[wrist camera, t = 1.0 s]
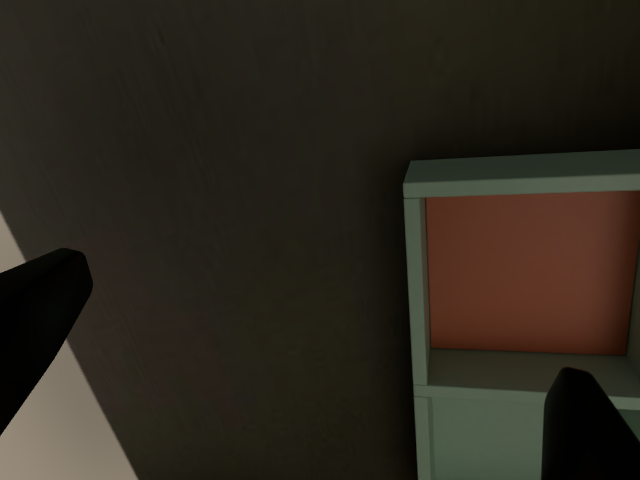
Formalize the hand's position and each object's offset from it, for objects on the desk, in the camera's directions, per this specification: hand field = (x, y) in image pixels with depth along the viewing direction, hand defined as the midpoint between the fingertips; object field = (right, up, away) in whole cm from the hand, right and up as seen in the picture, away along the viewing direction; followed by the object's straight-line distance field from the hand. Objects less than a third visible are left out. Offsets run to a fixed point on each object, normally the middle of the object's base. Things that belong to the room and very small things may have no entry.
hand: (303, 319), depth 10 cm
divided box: (+10, -4, +15) cm, 18 cm away
